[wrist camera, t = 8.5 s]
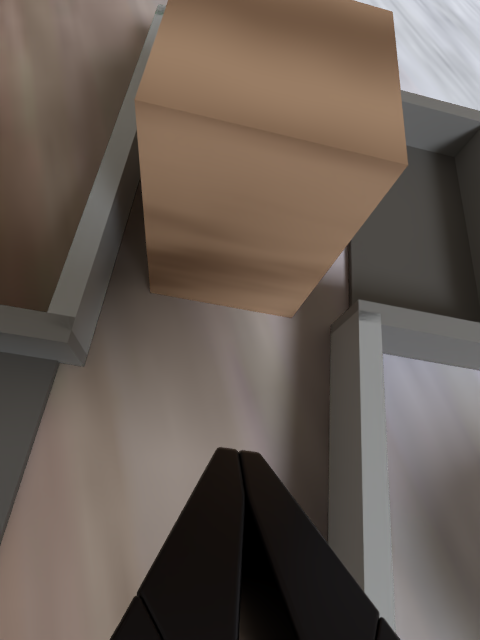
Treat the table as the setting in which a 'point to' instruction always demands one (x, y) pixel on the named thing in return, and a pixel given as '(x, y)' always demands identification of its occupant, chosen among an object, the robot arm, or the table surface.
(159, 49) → the walnut block
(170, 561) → the robot arm
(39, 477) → the table surface
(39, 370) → the bent walled tray
